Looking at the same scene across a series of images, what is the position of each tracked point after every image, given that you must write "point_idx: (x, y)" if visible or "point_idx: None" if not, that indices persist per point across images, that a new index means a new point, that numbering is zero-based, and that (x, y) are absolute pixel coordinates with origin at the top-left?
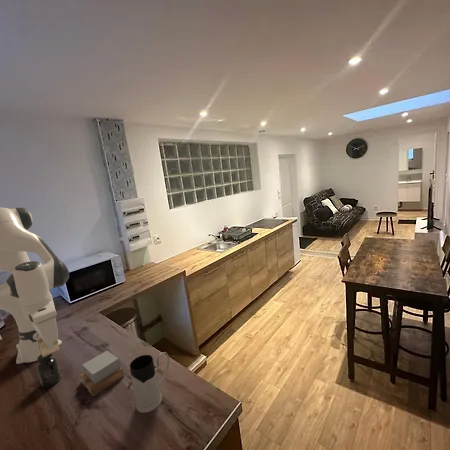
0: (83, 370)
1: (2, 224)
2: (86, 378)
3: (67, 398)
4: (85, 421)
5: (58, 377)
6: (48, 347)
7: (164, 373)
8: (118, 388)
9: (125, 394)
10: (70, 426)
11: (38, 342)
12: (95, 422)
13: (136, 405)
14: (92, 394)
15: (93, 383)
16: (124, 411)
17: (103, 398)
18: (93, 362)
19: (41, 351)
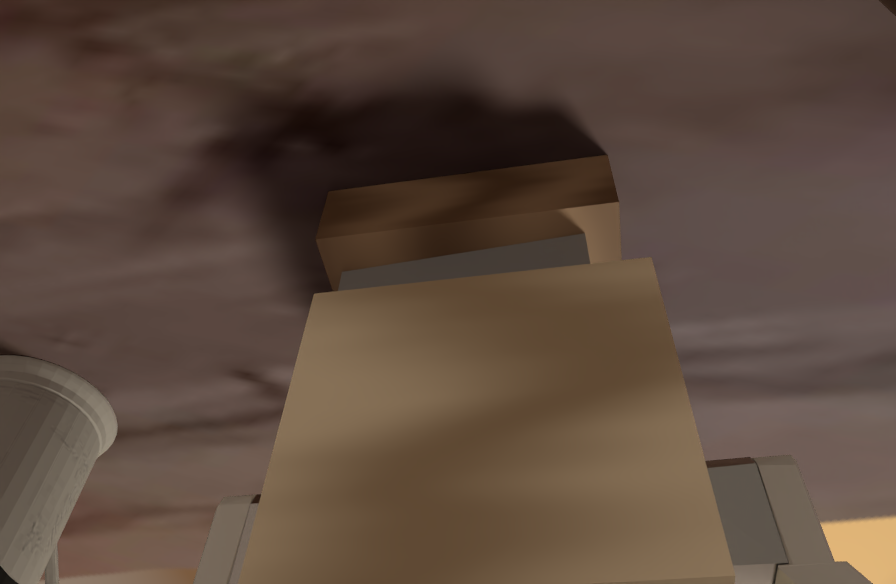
0: (588, 256)
1: None
2: (490, 236)
3: (481, 23)
4: (76, 104)
5: (881, 2)
6: (211, 550)
7: (54, 577)
8: (283, 331)
9: (187, 345)
10: (85, 3)
11: (399, 580)
12: (25, 156)
13: (24, 367)
14: (326, 203)
15: (363, 264)
16: (29, 305)
17: (248, 242)
18: None
19: (303, 391)
